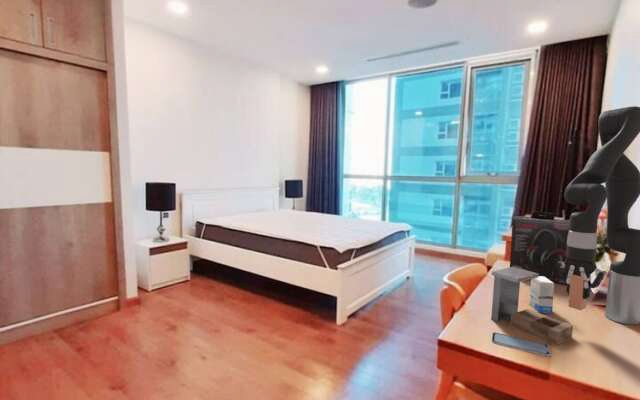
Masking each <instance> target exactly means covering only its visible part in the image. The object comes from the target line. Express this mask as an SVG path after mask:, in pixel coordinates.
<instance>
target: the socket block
mask: <svg viewBox="0 0 640 400" xmlns="http://www.w3.org/2000/svg"><path fill="white" fill-rule="evenodd" d="M509 322H510V323H509V326H510V327H512V328H514V329H516V330H519V331H522V332H523V333H526V334H529V335H531V336H533V337H535V338H538V339H539V340H540V339H541V340H542V341H545V342H547V343H549V344H552V345H555V346H557V345H559V344H561V343H562V342H563V343H564V342H566V341H567V340H569V339H571V338H573V331H574V330H573V329H574V325H573V324H570V323H567V322H565V321H562V320H558V319H556V318H553V317H551V316H548V315H545V314H543V313H541V312H538V311H535V310H531V309H528V308H526V309H522V310H520V311H518V312H517V313H514V314H511V317H510V321H509Z"/></svg>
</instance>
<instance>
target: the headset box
mask: <svg viewBox="0 0 640 400" xmlns="http://www.w3.org/2000/svg"><path fill="white" fill-rule="evenodd" d="M569 222H570V219H559V218H557V219H556V218H555V216H554V213H553V212H544V211H532V213H531V215H530V216H521V215H515V216H513V218H512V222H511V223H512V224H511V237H510V238H511V239H510V240H511V241H510V242H511V243H510V254H509V255H510V257H509V268H510V267H516V268H520V269H523V270H527V271H531V272H534V273H538V274H539V276H543V277H546V278H547V279H549V280H550V281H551V282H553V283H554V284H558V285H562V286H567V283H566V282H565V281H564V280H561V279H560V277H559V274H558V271H557V268H556V265H555V263H557V262H564V261H565V260H566V252H567V238H568V233H569ZM565 271H566V274H567V275H568V273H569V270H568V268H567V267H566V265H565ZM567 277H568V276H567Z"/></svg>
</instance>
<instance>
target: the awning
mask: <svg viewBox="0 0 640 400" xmlns="http://www.w3.org/2000/svg"><path fill="white" fill-rule="evenodd" d="M491 276H494V278H493V291H492V304H491V317H490V320H492V321H495V322H497V323H499V322H501V321H504V320H507V319H511V314H514V313H517V312H519V311H518V310H519V301H520V299H519V298H520V289H521V282H525V281H529V280H530V281H531V279H533V278H537V277H539V274H538V273H534V272H531V271H527V270H523V269H520V268H516V267H510V266H509V267H507V268H502V269H501V268H500V269H497V270H492V271H491Z"/></svg>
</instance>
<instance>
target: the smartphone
mask: <svg viewBox="0 0 640 400" xmlns="http://www.w3.org/2000/svg"><path fill="white" fill-rule="evenodd" d="M491 343H493V344H495V343H496V345H499V344H500V345H499V346H503V345H504V347H507V346H509V347H508V348H511V347H512V348H513V349H515V348H517V349H516V350H519V349H520V351H523V352H528V353H532V354H536V355H540V356H543V357H550V356H551V352H550V347H549V345H548V344H547V343H544V342H540V341H537V340H536V341H535V340H531V339H527V338H521V337H517V336H512V335H509V334H504V333H500V332H492V334H491ZM512 348H511V349H512Z"/></svg>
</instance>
